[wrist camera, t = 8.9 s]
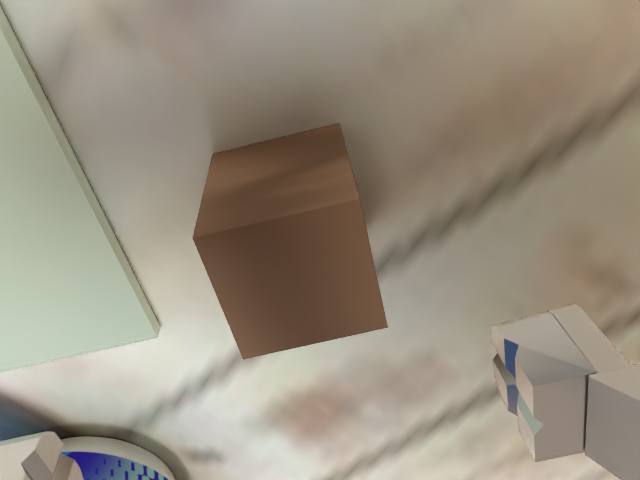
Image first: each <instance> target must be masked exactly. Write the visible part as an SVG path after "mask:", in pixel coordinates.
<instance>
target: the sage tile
mask: <svg viewBox="0 0 640 480" xmlns="http://www.w3.org/2000/svg"><path fill="white" fill-rule="evenodd" d="M159 330H160V325H159V323H158V321H157V319H156V317H155V315H154V313H153V311H152V309H151V307H150V305H149V303H148V301H147V299H146V297H145V295H144V293H143V291H142V289H141V287H140V285H139V283H138V281H137V279H136V277H135V275H134V273H133V271H132V269H131V267H130V265H129V263H128V261H127V259H126V257H125V255H124V253H123V251H122V249H121V246H120V244H119V242H118V240H117V238H116V236H115V234H114V232H113V230H112V228H111V226H110V224H109V222H108V220H107V218H106V216H105V214H104V212H103V210H102V208H101V206H100V204H99V202H98V200H97V198H96V196H95V194H94V192H93V190H92V188H91V186H90V184H89V182H88V180H87V178H86V176H85V174H84V172H83V170H82V168H81V166H80V164H79V162H78V160H77V158H76V156H75V154H74V152H73V150H72V148H71V146H70V144H69V142H68V140H67V138H66V136H65V134H64V132H63V130H62V128H61V126H60V124H59V122H58V120H57V118H56V116H55V114H54V112H53V110H52V108H51V106H50V104H49V102H48V100H47V98H46V96H45V94H44V92H43V90H42V88H41V86H40V84H39V82H38V80H37V78H36V76H35V74H34V72H33V70H32V68H31V66H30V64H29V62H28V60H27V58H26V56H25V54H24V52H23V50H22V48H21V46H20V44H19V42H18V40H17V38H16V36H15V34H14V32H13V30H12V28H11V26H10V24H9V22H8V20H7V18H6V16H5V14H4V12H3V10H2V8H1V6H0V372H4V371H9V370H13V369H18V368H22V367H27V366H31V365H36V364H40V363H45V362H49V361H54V360H58V359H63V358H67V357H72V356H76V355H81V354H85V353H90V352H94V351H99V350H103V349H108V348H112V347H117V346H121V345H126V344H130V343H135V342H139V341H144V340H148V339H153V338H157V337H158V334H159Z"/></svg>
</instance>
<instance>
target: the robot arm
mask: <svg viewBox="0 0 640 480" xmlns="http://www.w3.org/2000/svg"><path fill="white" fill-rule="evenodd" d="M491 340H492V343H493V345H494V347H495V349H496V351H497V352H498V353H497V355H496V356H495V358H494V359H493V364H494V373H495V377H496V381H497V385H498V389H499V391H500V394H501V396H502V399H503V401H504V403H505V405H506V407H507V409H508V411H510V412H512V413H513V414H515V415H517V416H518V428H519V432H520V434H521V436H522V438H523V440H524V442H525V444H526V446H527V448H528V449H529V451H530V453H531V455H532V457H533V459H534V461H535V462H538V461H543V460H548V459H553V458H558V457H562V456H567V455H572V454H577V453H582V452H585V455H586V456H588V457H589V458H591V459H592V460H594V461H595V462H596V463H598V464H599V465H601V466H602V467H604V468H605V469H607V470H608V471H609V472H611V473H612V474H614V475H615V476H617V477H618V478H619V479H621V480H640V364H635V365H629V363H628V362H627V361H626V360H625V359H624V358H623V356H622V355H621V354H620V353H619V352H618V351H617V349H616V348H615V347H614V346H613V345H612V343H611V342H610V341H609V340H608V339H607V338H606V336H605V335H604V334H603V333H602V332H601V330H600V329H599V328H598V327H597V326H596V325H595V323H594V322H593V321H592V320H591V319H590V318H589V316H588V315H587V314H586V313H585V312H584V310H583V309H582V308H581V307H580V306H578V305H576V304H573V305H569V306H565V307H561V308H557V309H553V310H549V311H547V312H542V313H538V314H534V315H530V316H526V317H522V318H518V319H514V320H510V321H506V322H502V323H498V324H494V325H492V328H491ZM62 447H63V442H62V441H61V440H60V438H59V437H58V436H57V435H56V433H55V432H47V431H46V432H41V433H37V434H32V435H27V436H23V437H18V438H13V439H9V440H4V441H0V480H84V479H83V476H82V473H81V469H80V467H79V466H78V464H77V463H76V461H75V460H74V459H72V458H70V457H68V456H66V455H64V454H61V450H62Z"/></svg>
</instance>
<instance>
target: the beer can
mask: <svg viewBox="0 0 640 480" xmlns="http://www.w3.org/2000/svg"><path fill="white" fill-rule="evenodd" d="M61 441H62V442H63V447H62V450H61V454H64V455H66V456H68V457H70V458H72V459H74V460H75V461H76V463H77V464H78V466H79V467H80V469H81V473H82V476H83V479H84V480H175V478H174V476H173V474H172V472H171V471H170V470H169V468H168V467H167V466H166V465H165V464H164V462H162V461H161V460H160V459H159V458H158V457H156V456H155V455H154V454H152V453H150V452H149V451H147V450H145V449H143V448H141V447H139V446H136V445H134V444H131V443H128V442H125V441H121V440H117V439H112V438H106V437H95V436H82V437H71V438H65V439H61Z"/></svg>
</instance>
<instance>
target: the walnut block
mask: <svg viewBox="0 0 640 480" xmlns="http://www.w3.org/2000/svg"><path fill="white" fill-rule="evenodd" d="M193 240H194V242H195V245H196V247H197V250H198V252H199V254H200V257H201V259H202V262H203V264H204V266H205V269H206V271H207V273H208V276H209V278H210V281H211V283H212V285H213V288H214V290H215V293H216V295H217V297H218V300H219V302H220V305H221V307H222V309H223V312H224V314H225V317H226V319H227V321H228V324H229V326H230V329H231V331H232V333H233V336H234V338H235V341H236V343H237V345H238V348H239V350H240V353H241V355H242V357H243V359H247V358H251V357H256V356H260V355H265V354H269V353H274V352H279V351H283V350H288V349H292V348H297V347H301V346H306V345H310V344H315V343H319V342H324V341H328V340H333V339H337V338H342V337H347V336H351V335H356V334H360V333H365V332H369V331H374V330H378V329H383V328H387V327H388V326H387V322H386V317H385V312H384V308H383V303H382V299H381V294H380V290H379V285H378V280H377V276H376V271H375V267H374V262H373V257H372V253H371V248H370V244H369V239H368V234H367V230H366V225H365V221H364V216H363V211H362V207H361V202H360V198H359V194H358V191H357V187H356V183H355V180H354V176H353V172H352V169H351V165H350V162H349V158H348V154H347V151H346V147H345V144H344V140H343V136H342V133H341V129H340V126H339V123H338V124H334V125H329V126H325V127H321V128H317V129H313V130H309V131H305V132H301V133H297V134H293V135H289V136H285V137H280V138H276V139H272V140H268V141H264V142H260V143H256V144H252V145H248V146H244V147H240V148H235V149H231V150H227V151H223V152H219V153H215V154H213V155H212V159H211V163H210V167H209V171H208V176H207V180H206V184H205V188H204V192H203V197H202V201H201V205H200V209H199V214H198V218H197V222H196V226H195V230H194V235H193Z"/></svg>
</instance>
